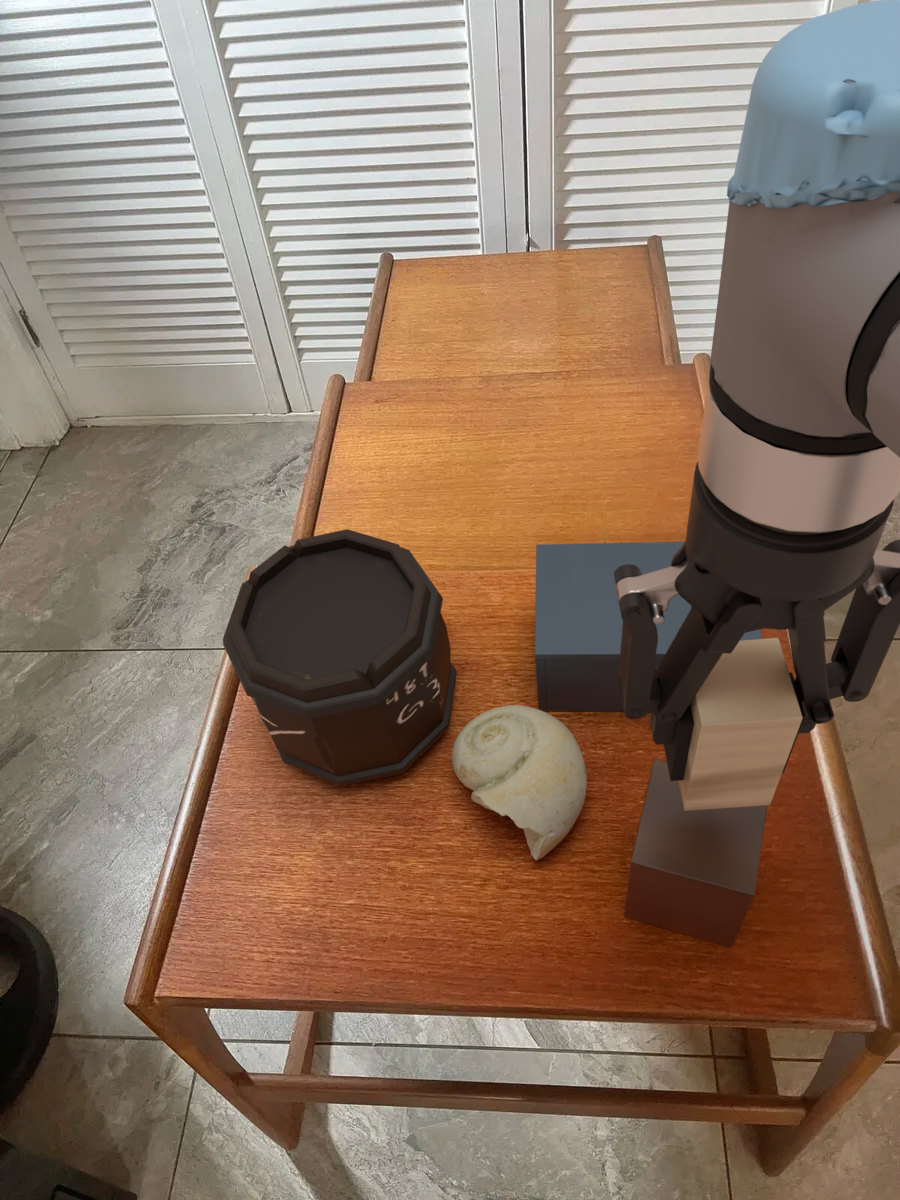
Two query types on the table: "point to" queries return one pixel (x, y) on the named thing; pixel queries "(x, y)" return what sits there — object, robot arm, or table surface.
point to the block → (741, 729)
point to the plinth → (693, 863)
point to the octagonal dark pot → (344, 655)
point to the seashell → (524, 771)
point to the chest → (579, 685)
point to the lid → (596, 598)
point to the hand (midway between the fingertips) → (722, 756)
